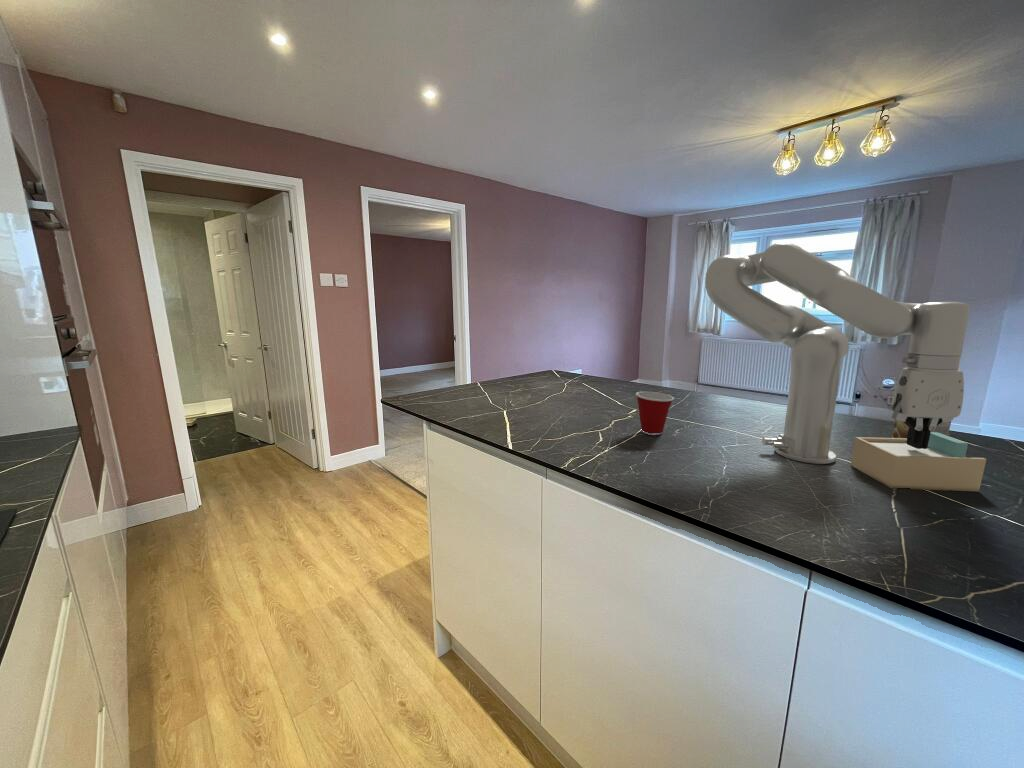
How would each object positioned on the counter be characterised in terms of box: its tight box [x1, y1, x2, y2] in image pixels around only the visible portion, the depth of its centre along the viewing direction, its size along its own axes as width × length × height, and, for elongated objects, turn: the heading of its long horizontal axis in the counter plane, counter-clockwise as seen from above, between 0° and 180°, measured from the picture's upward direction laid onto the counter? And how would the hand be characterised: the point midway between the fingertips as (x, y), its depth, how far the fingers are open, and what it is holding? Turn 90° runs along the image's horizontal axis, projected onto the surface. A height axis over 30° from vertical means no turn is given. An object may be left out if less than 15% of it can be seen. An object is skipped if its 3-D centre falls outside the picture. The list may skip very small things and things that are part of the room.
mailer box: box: [850, 436, 987, 492], centre depth 87 cm, size 16×12×7 cm
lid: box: [869, 432, 969, 457], centre depth 86 cm, size 14×10×4 cm
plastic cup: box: [635, 391, 675, 433], centre depth 119 cm, size 11×11×12 cm
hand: (916, 446), depth 86 cm, fingers closed
